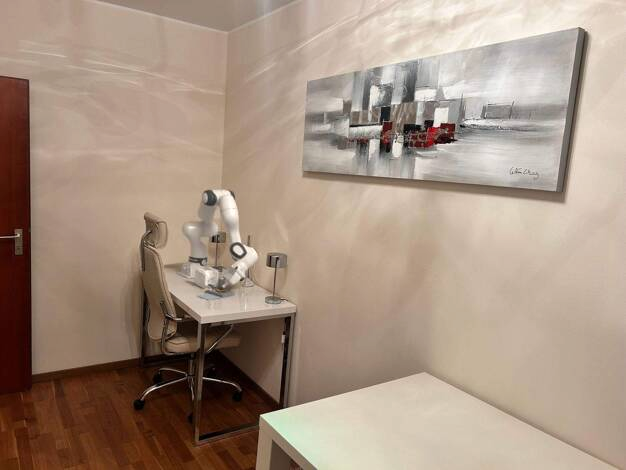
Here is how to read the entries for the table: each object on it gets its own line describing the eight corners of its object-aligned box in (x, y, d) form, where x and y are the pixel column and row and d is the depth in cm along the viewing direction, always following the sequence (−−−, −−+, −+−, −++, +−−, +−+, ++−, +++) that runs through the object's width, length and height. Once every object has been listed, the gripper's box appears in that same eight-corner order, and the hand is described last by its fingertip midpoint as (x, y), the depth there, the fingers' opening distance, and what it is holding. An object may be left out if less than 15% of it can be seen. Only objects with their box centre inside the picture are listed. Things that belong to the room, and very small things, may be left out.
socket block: (206, 293, 298) (206, 288, 297) (218, 290, 306) (218, 286, 306) (222, 298, 290) (222, 293, 289) (234, 295, 298) (234, 290, 297)
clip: (212, 288, 299) (212, 287, 299) (210, 288, 297) (210, 287, 297) (205, 285, 303) (205, 284, 303) (202, 286, 301) (202, 285, 301)
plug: (215, 294, 297) (216, 277, 296) (220, 293, 301) (221, 276, 300) (220, 295, 295) (221, 279, 293) (225, 294, 298) (226, 278, 297)
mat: (196, 296, 288) (196, 295, 288) (208, 294, 295) (208, 293, 295) (208, 300, 282) (208, 299, 282) (219, 297, 289) (219, 297, 289)
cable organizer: (218, 288, 312) (220, 270, 310) (203, 289, 305) (205, 271, 304) (208, 283, 323) (209, 266, 322) (193, 284, 317) (194, 267, 315)
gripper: (230, 262, 308) (214, 277, 305) (238, 269, 290) (221, 285, 287) (236, 269, 310) (220, 284, 308) (245, 276, 292) (228, 292, 289)
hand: (221, 285), depth 297 cm, fingers open, 8 cm apart
